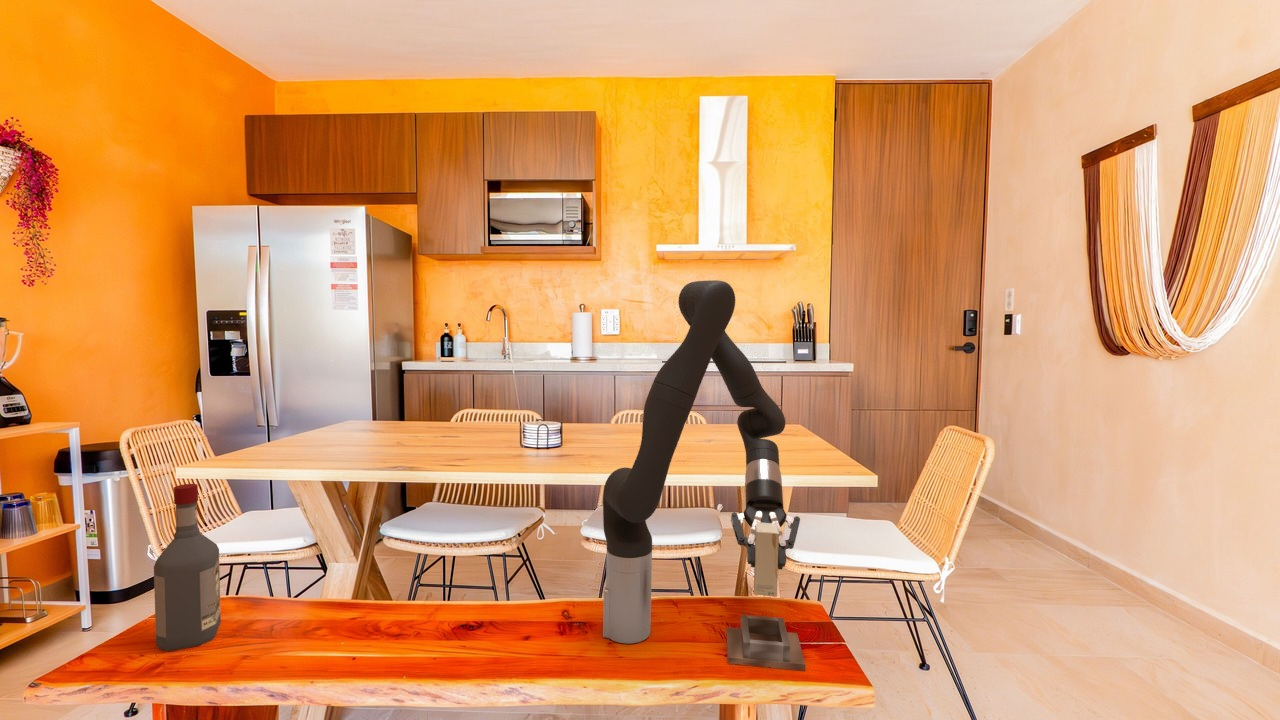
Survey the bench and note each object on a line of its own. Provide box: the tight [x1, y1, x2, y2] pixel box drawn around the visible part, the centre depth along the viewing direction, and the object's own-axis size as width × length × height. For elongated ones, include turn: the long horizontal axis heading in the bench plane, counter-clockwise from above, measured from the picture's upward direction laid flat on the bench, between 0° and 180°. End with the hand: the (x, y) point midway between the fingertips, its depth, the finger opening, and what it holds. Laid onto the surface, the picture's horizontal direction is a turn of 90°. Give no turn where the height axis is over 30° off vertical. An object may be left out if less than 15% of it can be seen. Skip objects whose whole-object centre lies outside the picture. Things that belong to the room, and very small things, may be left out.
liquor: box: [153, 483, 222, 652], centre depth 112 cm, size 9×9×30 cm
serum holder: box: [726, 614, 806, 672], centre depth 112 cm, size 14×11×4 cm
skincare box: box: [753, 522, 779, 598], centre depth 111 cm, size 6×4×12 cm
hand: (767, 566), depth 110 cm, fingers closed on skincare box, 4 cm apart
